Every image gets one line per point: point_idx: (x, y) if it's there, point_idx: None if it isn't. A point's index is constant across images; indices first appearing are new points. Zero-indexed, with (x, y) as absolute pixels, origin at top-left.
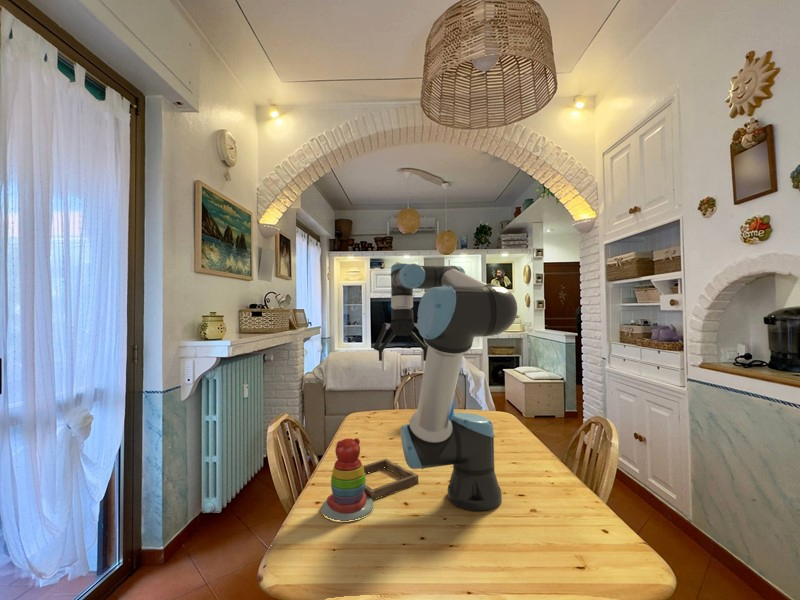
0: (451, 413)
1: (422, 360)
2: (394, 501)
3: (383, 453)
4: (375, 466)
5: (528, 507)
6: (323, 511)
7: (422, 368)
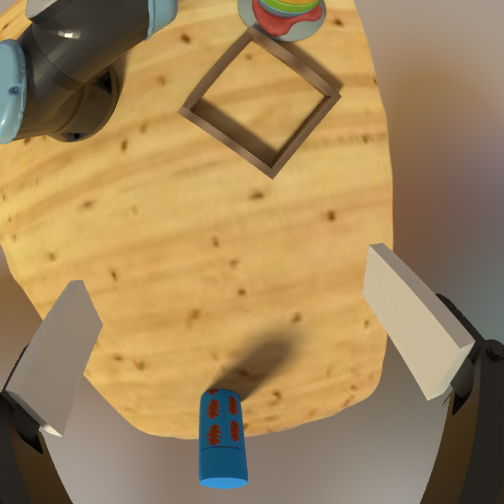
0: (201, 410)
1: (42, 331)
2: (208, 39)
3: (294, 241)
4: (286, 147)
5: None
6: None
7: (68, 290)
